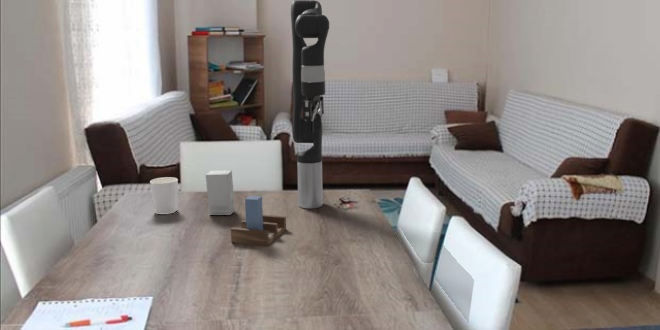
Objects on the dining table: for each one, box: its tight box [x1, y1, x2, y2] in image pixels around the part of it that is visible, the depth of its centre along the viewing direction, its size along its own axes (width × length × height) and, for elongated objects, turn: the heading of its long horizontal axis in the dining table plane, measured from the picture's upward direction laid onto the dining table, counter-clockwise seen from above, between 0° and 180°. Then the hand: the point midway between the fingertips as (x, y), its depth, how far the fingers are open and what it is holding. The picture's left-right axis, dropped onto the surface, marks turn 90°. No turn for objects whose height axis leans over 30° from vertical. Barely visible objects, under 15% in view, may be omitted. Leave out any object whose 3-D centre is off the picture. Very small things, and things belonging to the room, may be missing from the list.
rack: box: [230, 214, 287, 247], centre depth 189 cm, size 16×12×4 cm
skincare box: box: [205, 170, 236, 216], centre depth 212 cm, size 8×7×16 cm
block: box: [244, 195, 264, 230], centre depth 185 cm, size 4×4×12 cm
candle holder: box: [149, 176, 179, 213], centre depth 216 cm, size 10×10×12 cm
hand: (314, 130), depth 190 cm, fingers open, 8 cm apart
